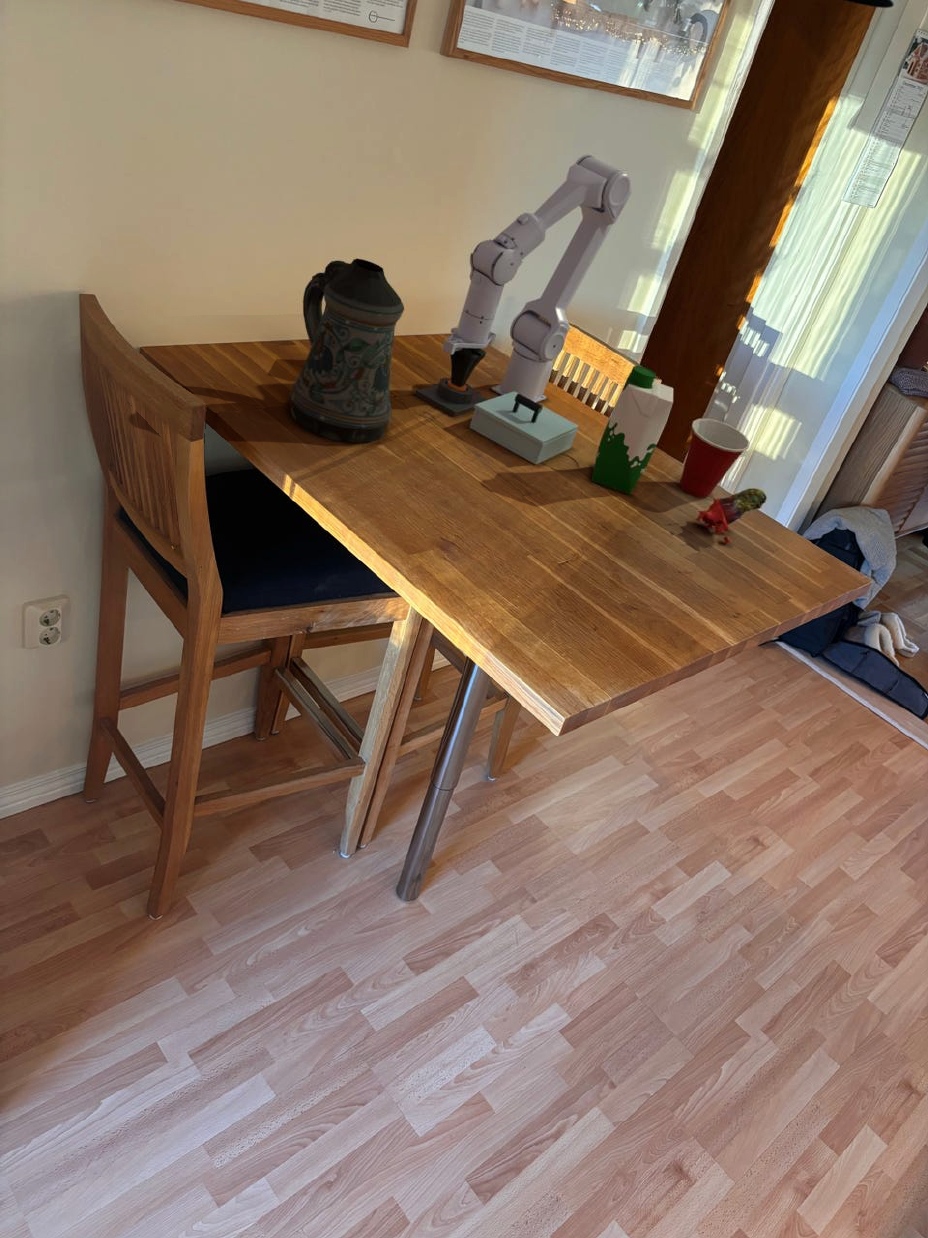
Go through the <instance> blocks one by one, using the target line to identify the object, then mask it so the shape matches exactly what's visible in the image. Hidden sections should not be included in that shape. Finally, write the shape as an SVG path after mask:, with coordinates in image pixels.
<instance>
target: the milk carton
mask: <svg viewBox="0 0 928 1238" xmlns="http://www.w3.org/2000/svg"><path fill="white" fill-rule="evenodd" d="M656 376H657V374H656V372H654V371H653V370H652V369H649V368H647V367H644V366H641V365H634V366H633V367H632V368H631V370H630V372H629V375H628V377H627V378H626V380H625V383H624V385H623V387H622V389H621V392H620V394H619V395H618V398H617V400H616V402H615V405H614V407H613V409H612V412H611V414H610V417H609V419H608V422H607V424H606V426H605V429H604V431H603V434H602V436H601V438H600V442H599V445H598V448H597V452H596V457H595V461H594V466H593V472H592V477H591V482H593V483H596V484H599V485H601V486H603V487H607V488H610V489H612V490H615V491H618V492H621V493H623V494H626V495H629V496H630V495H631V494H632V492H633V490H634V489H635V487H636V485H637V483H638V482H639V481H640V479H641V477H642V476H643V474H644V472H645V470H646V469H647V467H648V464H649V463H650V460H651V458H652V456H653V453H654V451H655V449H656V447H657V444H658V443H659V440H660V438H661V435H662V434H663V431H664V429H665V427H666V424H667V422H668V418H669V415H670V413H671V410H672V407H673V404H674V388H673V387H672V386H668V385H667V384H663V383H660V382H659V381H658V380H656Z"/></svg>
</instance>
